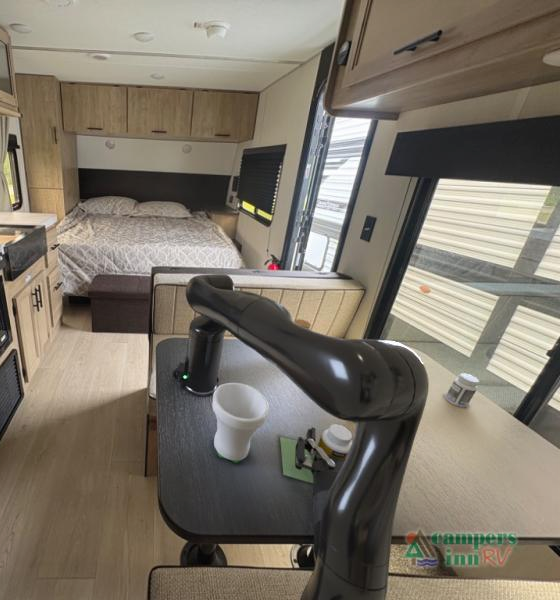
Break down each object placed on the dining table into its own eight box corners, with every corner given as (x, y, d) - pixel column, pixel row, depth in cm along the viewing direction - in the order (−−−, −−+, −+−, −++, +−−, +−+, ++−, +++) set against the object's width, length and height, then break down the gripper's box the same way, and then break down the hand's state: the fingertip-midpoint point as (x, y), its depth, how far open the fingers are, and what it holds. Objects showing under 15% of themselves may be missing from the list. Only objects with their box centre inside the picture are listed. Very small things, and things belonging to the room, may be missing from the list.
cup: (194, 443, 68) (201, 394, 62) (227, 421, 74) (236, 375, 69) (233, 482, 60) (246, 430, 54) (266, 454, 66) (280, 405, 61)
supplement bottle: (320, 479, 62) (335, 443, 57) (307, 455, 67) (319, 420, 62) (346, 478, 62) (363, 443, 58) (331, 454, 67) (345, 420, 63)
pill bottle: (466, 401, 86) (481, 377, 83) (466, 409, 83) (482, 385, 79) (445, 392, 89) (458, 369, 86) (444, 400, 86) (458, 377, 82)
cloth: (283, 475, 62) (283, 474, 62) (279, 437, 71) (279, 436, 71) (381, 503, 58) (382, 502, 58) (364, 458, 67) (365, 457, 67)
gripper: (398, 517, 46) (380, 438, 59) (297, 475, 51) (302, 412, 65) (380, 545, 49) (367, 464, 62) (287, 503, 54) (293, 437, 68)
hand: (334, 438), depth 63 cm, fingers open, 8 cm apart
